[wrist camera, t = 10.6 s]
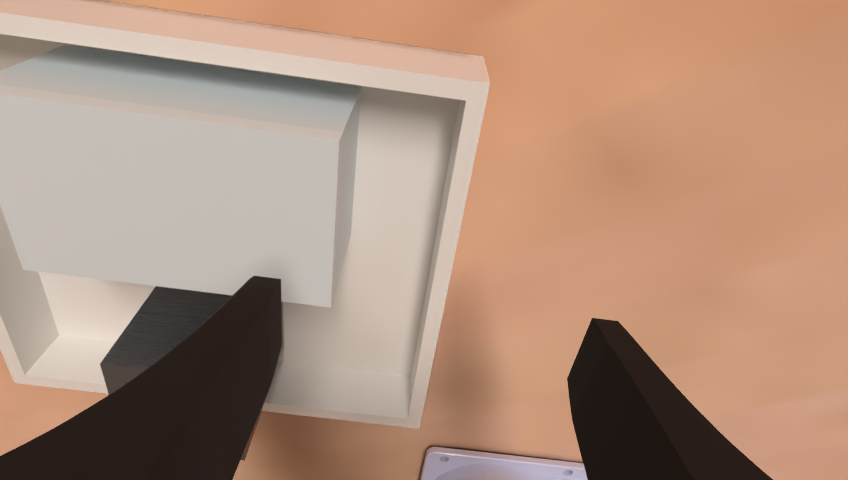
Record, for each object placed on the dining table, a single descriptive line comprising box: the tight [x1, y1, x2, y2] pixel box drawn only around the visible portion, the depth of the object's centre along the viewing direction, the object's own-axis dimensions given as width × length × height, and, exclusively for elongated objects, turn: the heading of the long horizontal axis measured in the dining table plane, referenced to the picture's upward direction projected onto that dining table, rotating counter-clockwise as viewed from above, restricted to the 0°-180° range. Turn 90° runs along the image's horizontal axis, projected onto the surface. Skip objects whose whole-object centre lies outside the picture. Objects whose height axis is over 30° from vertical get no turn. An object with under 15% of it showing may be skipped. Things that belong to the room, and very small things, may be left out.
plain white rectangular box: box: [0, 45, 361, 308], centre depth 18 cm, size 10×6×5 cm, turn 82°
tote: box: [0, 0, 490, 429], centre depth 21 cm, size 18×16×3 cm
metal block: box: [100, 286, 284, 460], centre depth 22 cm, size 4×4×6 cm
